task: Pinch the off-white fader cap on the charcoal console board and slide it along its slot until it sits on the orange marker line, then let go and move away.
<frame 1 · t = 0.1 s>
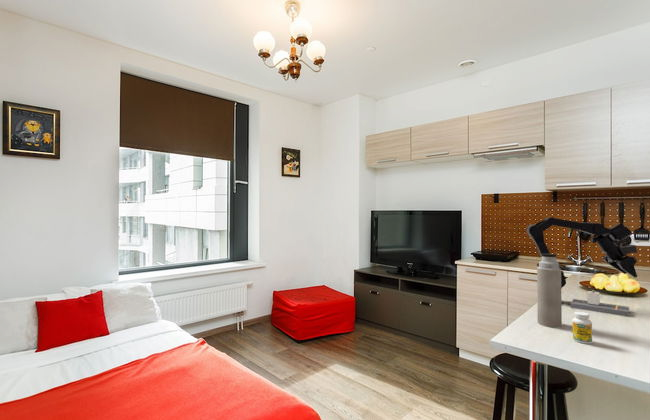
hand: (630, 275, 155), 15 cm above the countertop, tool tilted 30°, fingers open, 9 cm apart
fader cap: (593, 297, 153), point 5 cm above the countertop, slide at 0.0 cm
console board: (599, 309, 152), on the countertop
supplement bottle: (582, 341, 116), on the countertop
thermos bottle: (549, 324, 133), on the countertop
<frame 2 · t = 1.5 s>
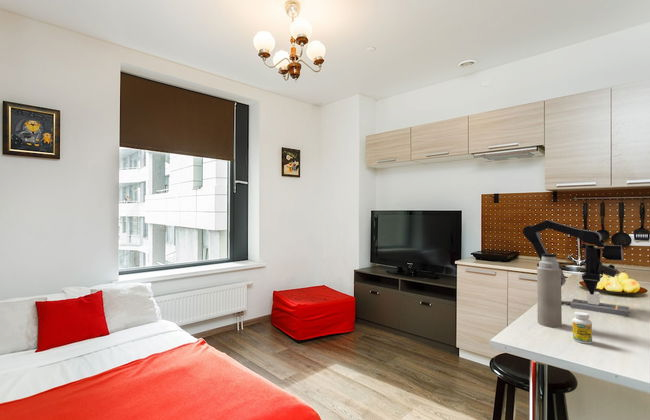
hand: (593, 292, 154), 7 cm above the countertop, tool pointing down, fingers open, 9 cm apart
nothing on the countertop moved.
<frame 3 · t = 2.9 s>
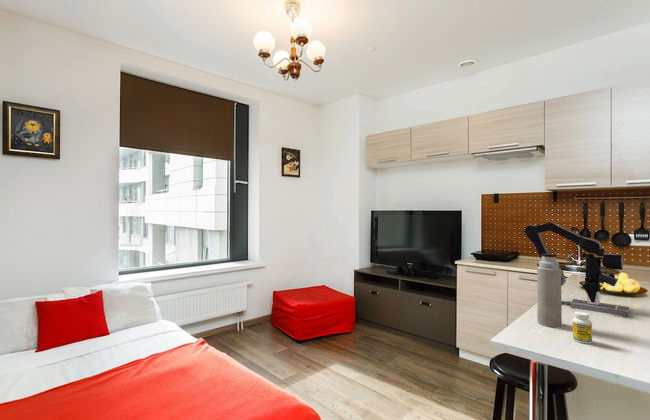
hand: (593, 301, 153), 3 cm above the countertop, tool pointing down, fingers closed on fader cap, 4 cm apart
fader cap: (593, 297, 153), point 5 cm above the countertop, slide at 0.0 cm, touching gripper
everything else where it was.
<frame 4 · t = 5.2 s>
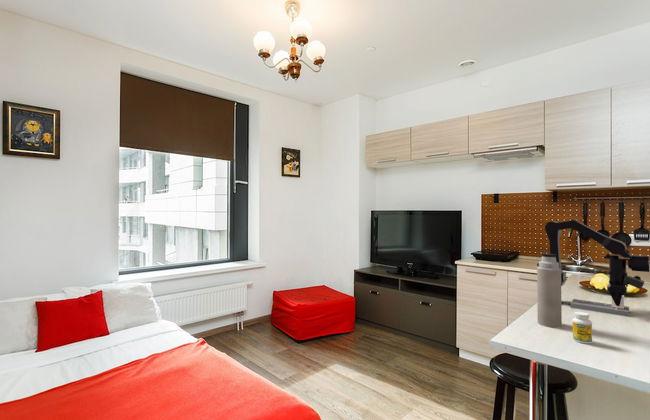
hand: (618, 304, 148), 3 cm above the countertop, tool pointing down, fingers closed on fader cap, 4 cm apart
fader cap: (617, 300, 148), point 5 cm above the countertop, slide at 8.5 cm, touching gripper
everything else where it was.
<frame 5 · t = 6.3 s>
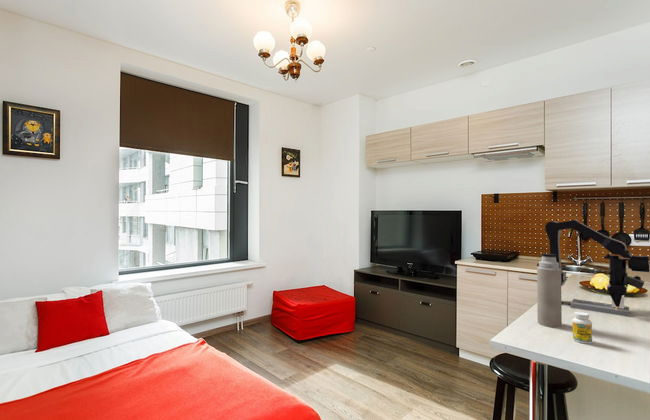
hand: (618, 304, 148), 3 cm above the countertop, tool pointing down, fingers open, 7 cm apart
fader cap: (618, 300, 148), point 5 cm above the countertop, slide at 8.5 cm
everything else where it was.
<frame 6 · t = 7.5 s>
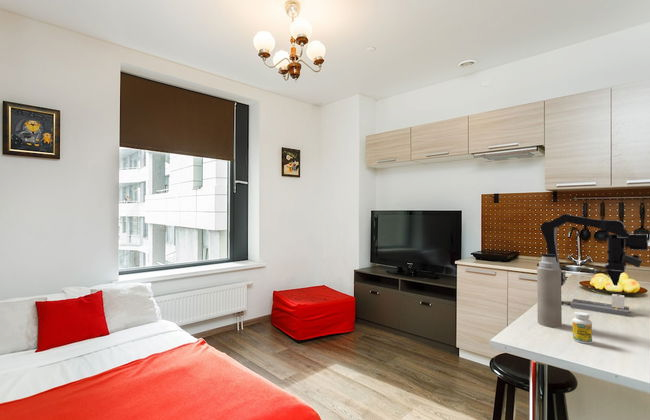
hand: (616, 283, 148), 12 cm above the countertop, tool pointing down, fingers open, 9 cm apart
nothing on the countertop moved.
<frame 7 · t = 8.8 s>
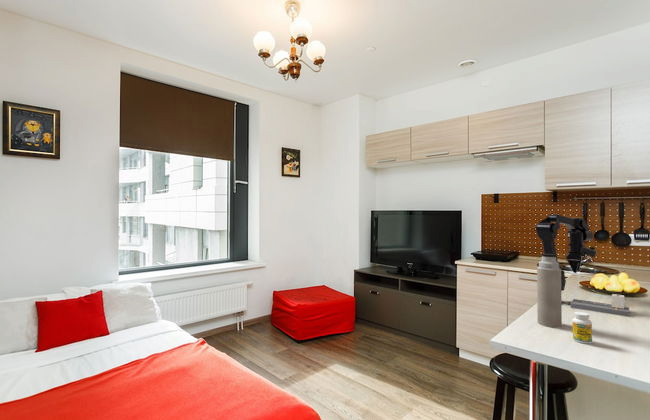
hand: (576, 271, 174), 13 cm above the countertop, tool pointing down, fingers open, 9 cm apart
nothing on the countertop moved.
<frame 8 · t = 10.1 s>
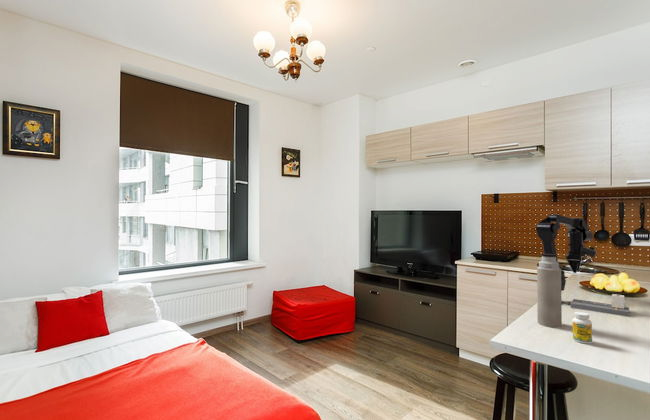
hand: (576, 271, 174), 13 cm above the countertop, tool pointing down, fingers open, 9 cm apart
nothing on the countertop moved.
at the end: fader cap slide at 8.5 cm; the gripper is holding nothing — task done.
